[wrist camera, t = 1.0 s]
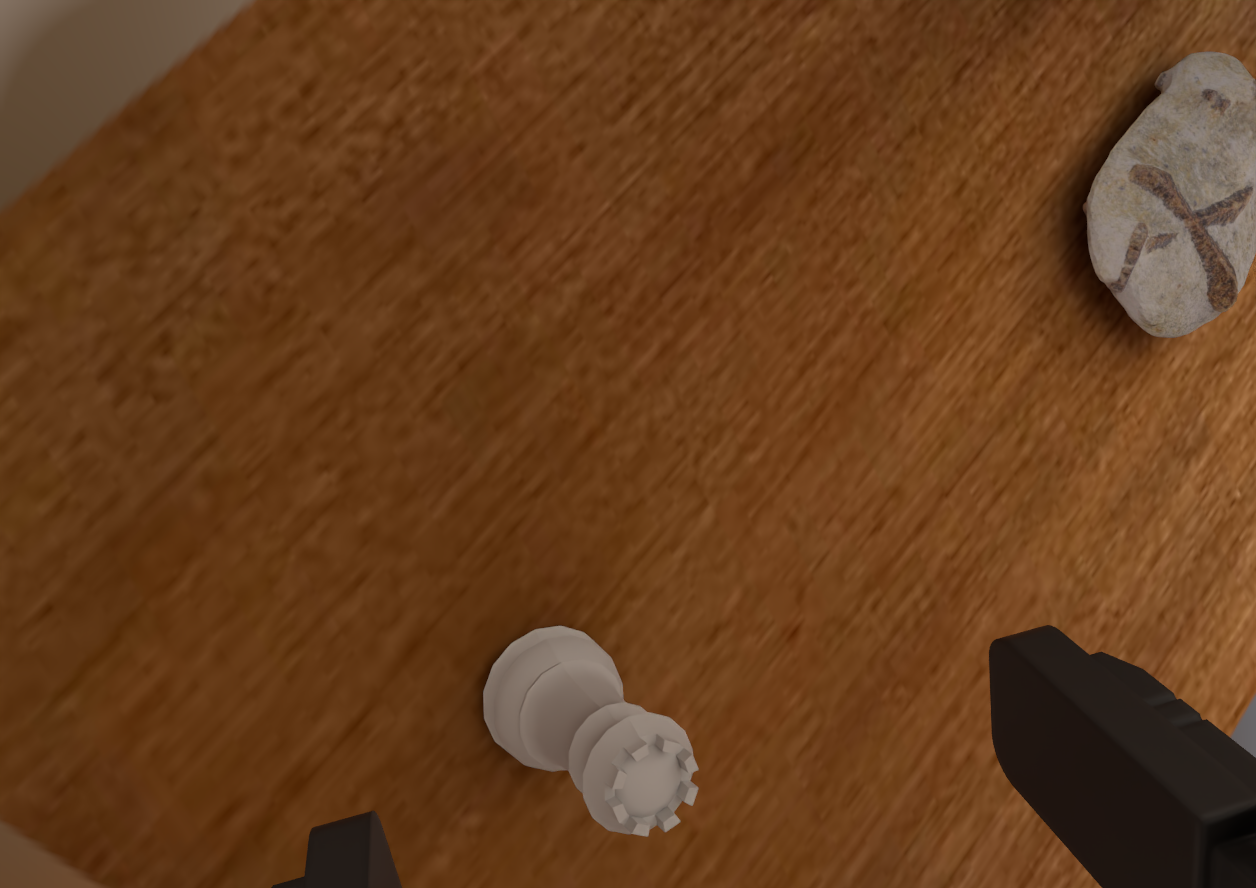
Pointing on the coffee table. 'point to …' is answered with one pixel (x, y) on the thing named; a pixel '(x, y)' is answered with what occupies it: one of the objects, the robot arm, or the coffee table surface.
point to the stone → (1180, 199)
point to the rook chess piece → (588, 730)
